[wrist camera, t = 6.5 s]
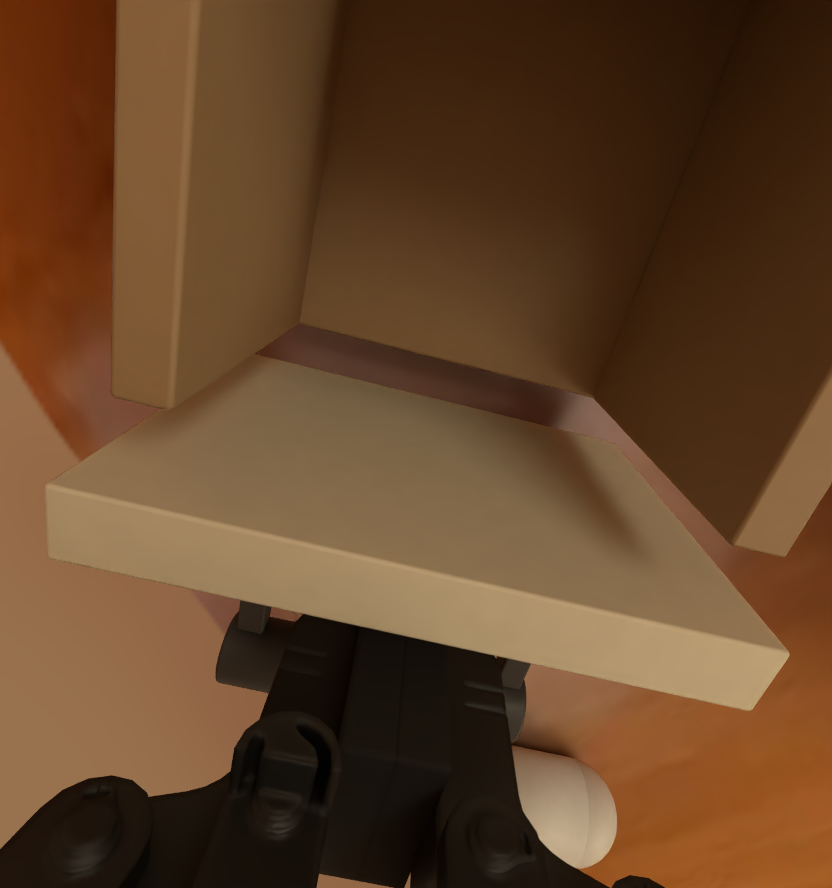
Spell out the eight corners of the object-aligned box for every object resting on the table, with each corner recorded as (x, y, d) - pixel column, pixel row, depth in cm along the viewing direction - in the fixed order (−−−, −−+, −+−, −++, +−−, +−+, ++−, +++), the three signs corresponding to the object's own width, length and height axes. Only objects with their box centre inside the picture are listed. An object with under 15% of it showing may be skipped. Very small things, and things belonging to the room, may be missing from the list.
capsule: (420, 767, 21) (418, 861, 18) (442, 710, 20) (443, 800, 17) (583, 800, 22) (608, 897, 18) (614, 746, 20) (647, 840, 17)
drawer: (538, 619, 17) (614, 909, 10) (224, 549, 16) (55, 802, 9) (837, -72, 10) (1822, -814, 3) (317, -239, 10) (-54, -1696, 2)
